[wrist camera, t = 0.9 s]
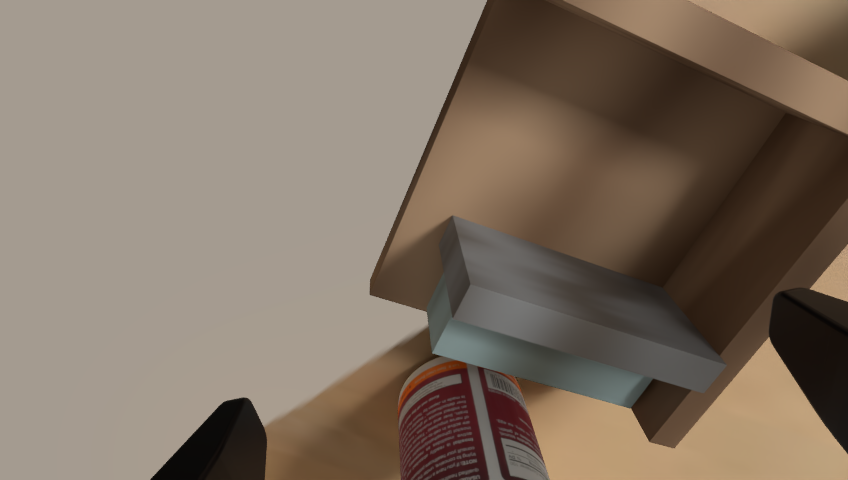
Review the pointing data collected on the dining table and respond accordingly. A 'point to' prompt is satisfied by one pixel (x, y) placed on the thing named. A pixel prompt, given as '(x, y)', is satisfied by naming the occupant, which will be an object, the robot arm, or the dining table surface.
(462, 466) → the pill bottle
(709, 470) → the dining table surface
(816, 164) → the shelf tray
